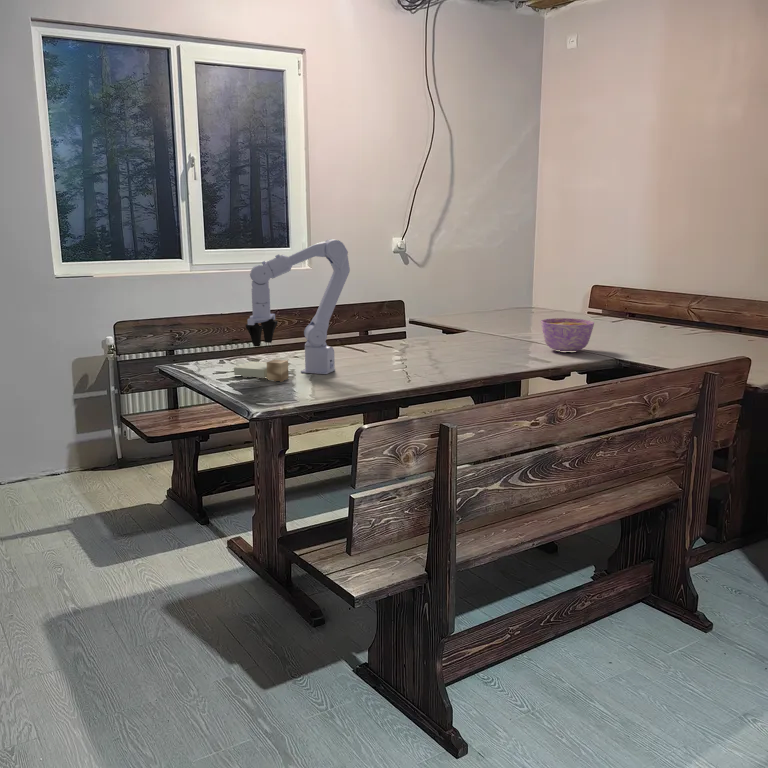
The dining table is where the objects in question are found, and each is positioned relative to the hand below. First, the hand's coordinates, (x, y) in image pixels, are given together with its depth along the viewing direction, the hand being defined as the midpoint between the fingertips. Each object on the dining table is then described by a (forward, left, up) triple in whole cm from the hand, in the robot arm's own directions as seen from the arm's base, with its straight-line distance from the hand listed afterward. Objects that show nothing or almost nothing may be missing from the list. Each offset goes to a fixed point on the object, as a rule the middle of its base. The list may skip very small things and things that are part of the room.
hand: (262, 344), depth 251 cm
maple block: (-8, +6, -10) cm, 15 cm away
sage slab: (+2, +1, -10) cm, 10 cm away
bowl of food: (-88, -79, -10) cm, 119 cm away
